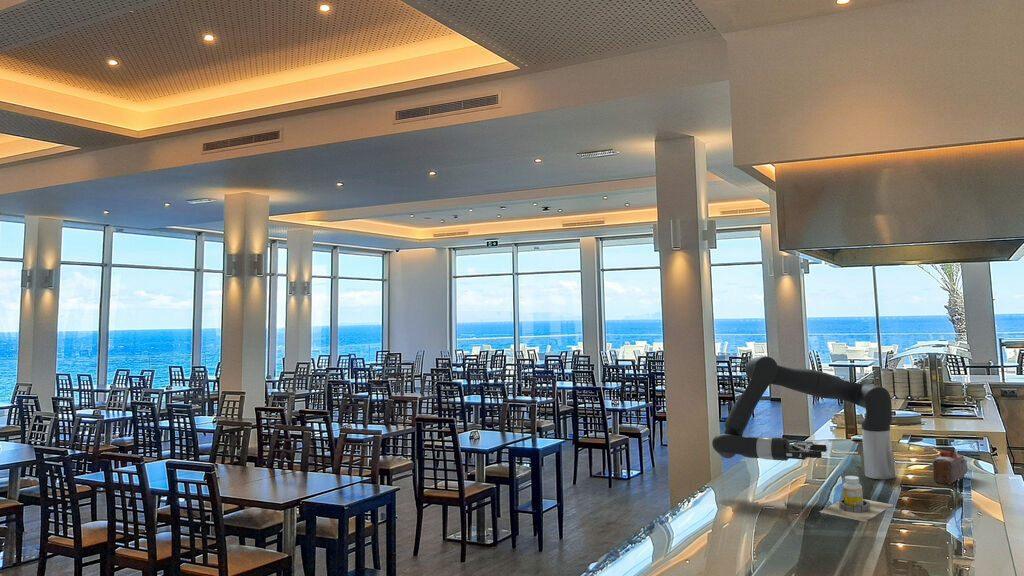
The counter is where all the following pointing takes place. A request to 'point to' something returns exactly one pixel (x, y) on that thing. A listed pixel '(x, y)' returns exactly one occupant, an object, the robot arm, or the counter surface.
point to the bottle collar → (854, 507)
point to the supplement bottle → (852, 491)
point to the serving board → (874, 510)
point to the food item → (949, 467)
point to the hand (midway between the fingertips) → (824, 451)
